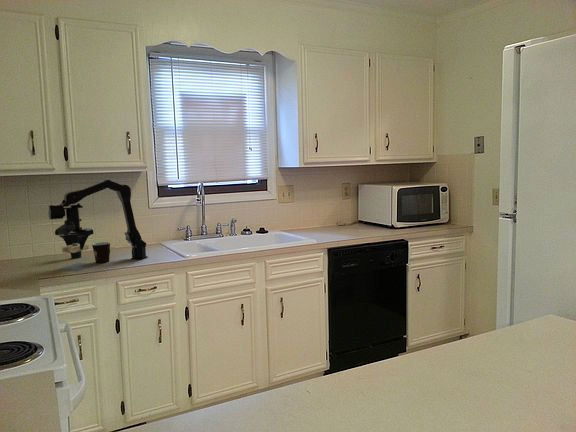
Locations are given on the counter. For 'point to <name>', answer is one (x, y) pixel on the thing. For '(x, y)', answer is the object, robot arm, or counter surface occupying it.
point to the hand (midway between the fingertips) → (75, 249)
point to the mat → (77, 267)
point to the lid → (74, 248)
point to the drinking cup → (76, 240)
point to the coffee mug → (101, 252)
